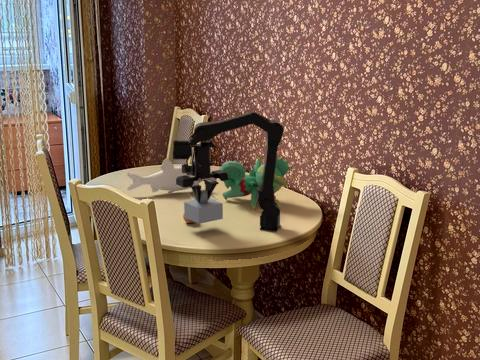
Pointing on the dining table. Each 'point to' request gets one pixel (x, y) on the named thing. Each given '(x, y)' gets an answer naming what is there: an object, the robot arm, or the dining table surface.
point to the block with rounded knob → (203, 209)
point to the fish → (160, 178)
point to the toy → (251, 179)
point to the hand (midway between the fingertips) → (202, 201)
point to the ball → (187, 219)
